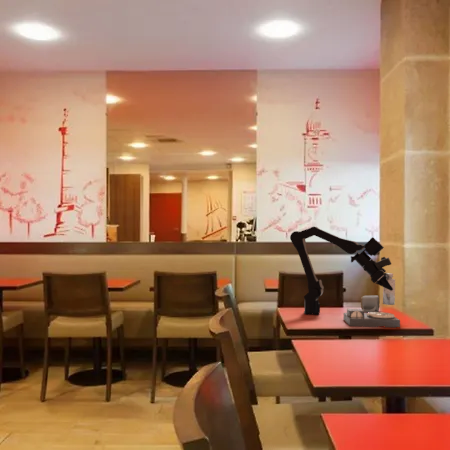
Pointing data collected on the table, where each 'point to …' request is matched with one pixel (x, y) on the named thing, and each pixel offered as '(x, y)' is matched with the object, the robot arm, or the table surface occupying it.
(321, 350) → the table surface
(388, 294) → the steel weight
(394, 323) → the bench scale
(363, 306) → the ceramic mug
